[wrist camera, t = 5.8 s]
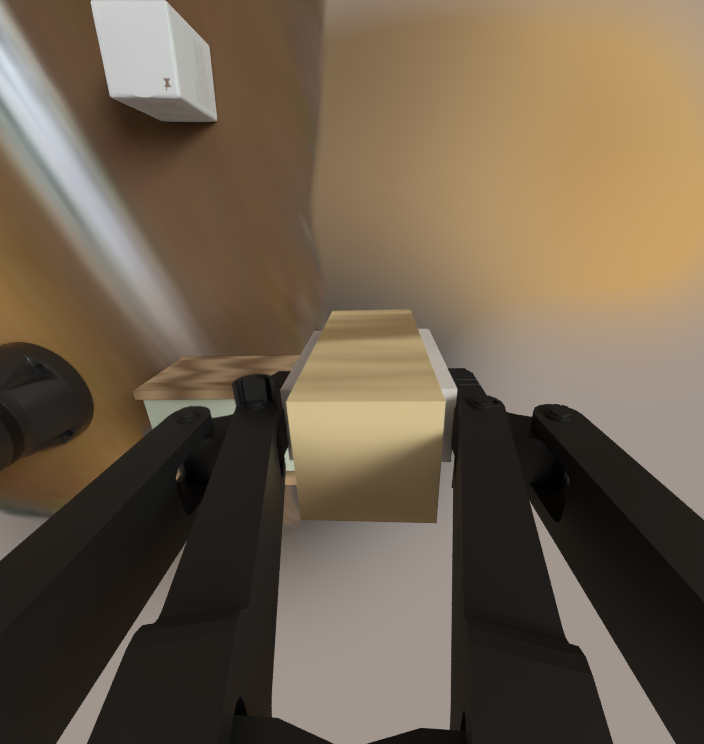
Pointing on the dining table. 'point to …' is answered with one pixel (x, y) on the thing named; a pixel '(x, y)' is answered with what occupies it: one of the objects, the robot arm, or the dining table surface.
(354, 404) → the beige wooden block
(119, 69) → the product box
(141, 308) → the dining table surface
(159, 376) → the toolbox
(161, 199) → the dining table surface
